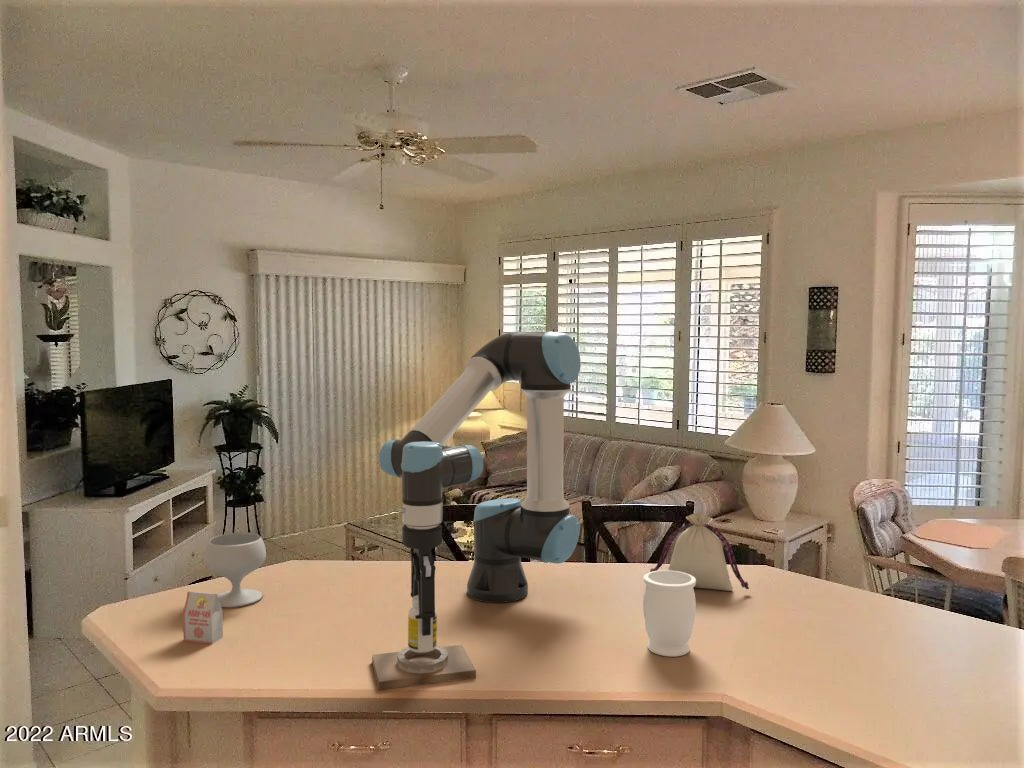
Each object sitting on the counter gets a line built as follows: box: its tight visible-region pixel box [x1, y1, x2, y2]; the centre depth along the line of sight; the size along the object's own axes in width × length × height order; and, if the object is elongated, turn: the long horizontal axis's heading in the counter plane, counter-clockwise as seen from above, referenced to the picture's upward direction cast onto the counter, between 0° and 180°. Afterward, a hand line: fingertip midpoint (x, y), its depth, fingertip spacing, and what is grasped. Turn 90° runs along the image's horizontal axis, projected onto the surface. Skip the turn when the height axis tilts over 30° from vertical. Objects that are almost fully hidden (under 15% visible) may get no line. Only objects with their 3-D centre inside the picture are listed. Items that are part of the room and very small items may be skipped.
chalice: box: [203, 531, 267, 608], centre depth 182 cm, size 14×14×15 cm
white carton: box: [182, 590, 224, 645], centre depth 159 cm, size 4×7×10 cm, turn 77°
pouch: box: [649, 512, 750, 592], centre depth 192 cm, size 25×8×19 cm, turn 73°
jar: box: [642, 569, 697, 658], centre depth 155 cm, size 11×10×15 cm
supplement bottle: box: [407, 595, 438, 653], centre depth 145 cm, size 5×5×10 cm
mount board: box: [371, 644, 477, 691], centre depth 145 cm, size 18×12×3 cm, turn 106°
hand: (422, 643), depth 145 cm, fingers closed on supplement bottle, 5 cm apart
